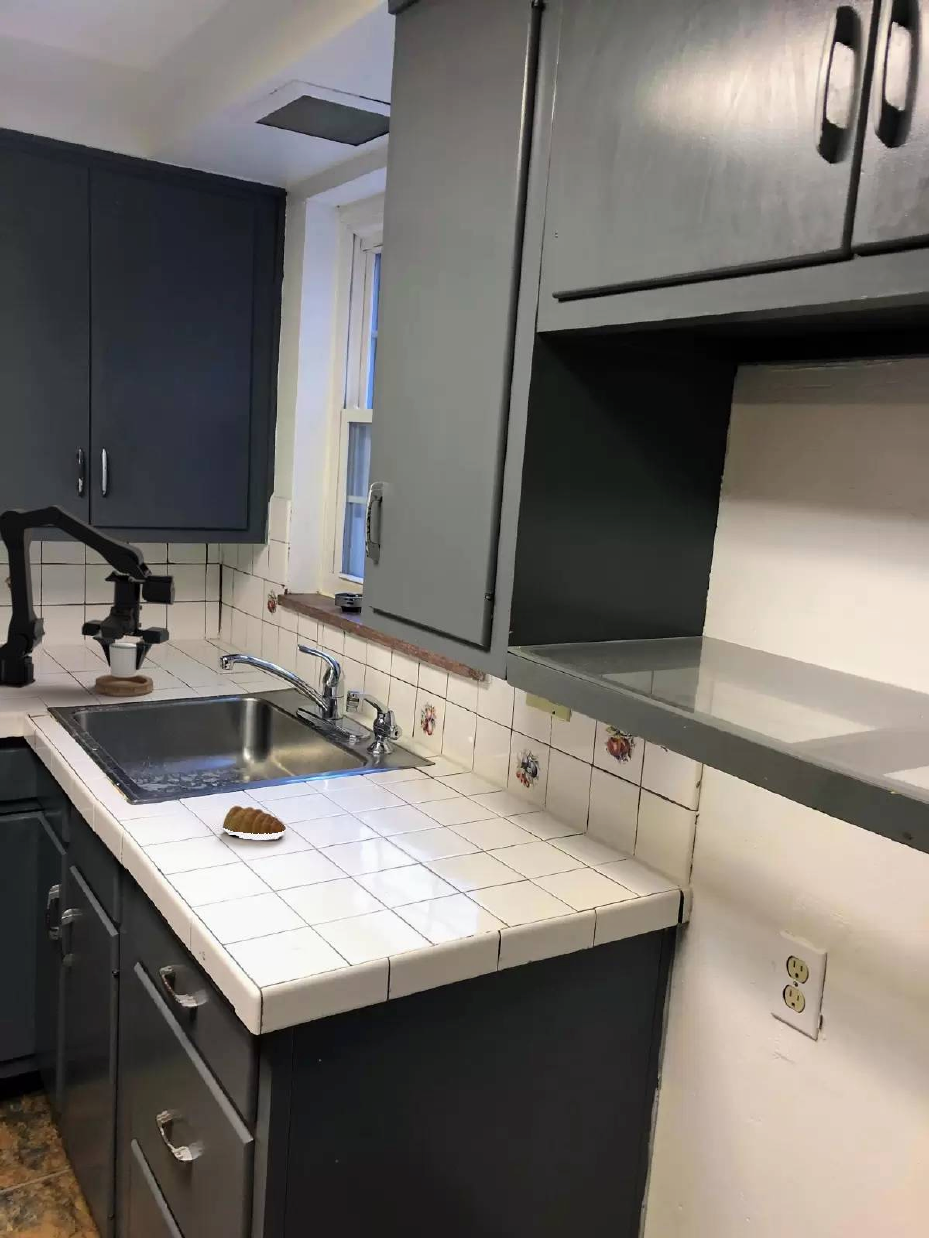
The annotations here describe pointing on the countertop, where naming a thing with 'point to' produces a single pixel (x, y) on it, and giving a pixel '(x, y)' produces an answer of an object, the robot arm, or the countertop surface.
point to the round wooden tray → (124, 686)
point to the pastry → (252, 821)
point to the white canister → (123, 659)
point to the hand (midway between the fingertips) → (124, 668)
